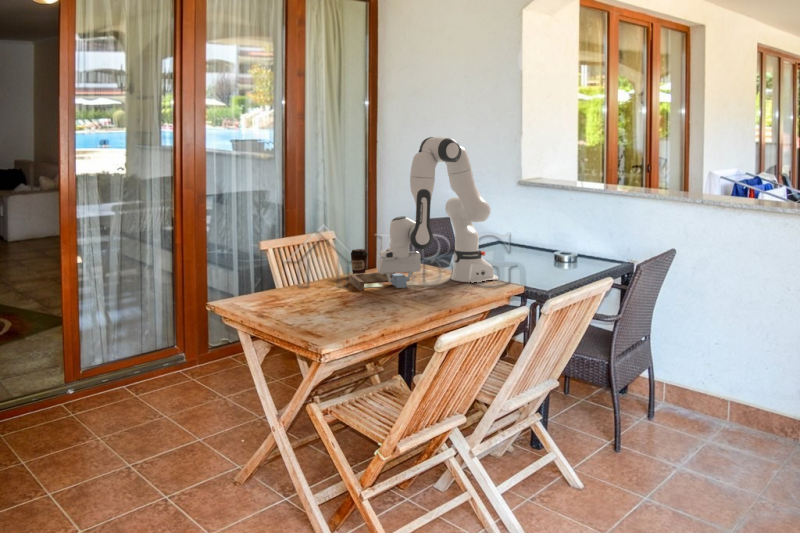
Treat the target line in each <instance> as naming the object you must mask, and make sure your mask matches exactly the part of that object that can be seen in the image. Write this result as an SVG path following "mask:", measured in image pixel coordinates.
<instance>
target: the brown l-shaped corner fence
mask: <svg viewBox="0 0 800 533" xmlns="http://www.w3.org/2000/svg"><path fill="white" fill-rule="evenodd" d="M392 274H396V273H391V275H390V278H392ZM348 277H349V282H348V283H349V284H350V285H351V284H352V285H351V286H352V287H354V288H355V289H357V290H359V291H360V292H361V291H365V289H368V288H369V289H370V288H383V287H384V285H382V284H381V283H379V282H387V281H388V282H389V279H388V277H387V275H386V274H380V273H379V272H378V271H377V272H375V271H374V272H365V273H360V274H353V273H352V274H349V276H348ZM374 282H375V283H374Z"/></svg>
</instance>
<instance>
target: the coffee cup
mask: <svg viewBox="0 0 800 533" xmlns="http://www.w3.org/2000/svg"><path fill="white" fill-rule="evenodd" d="M368 256H369V252H368V251H367V248H366V249H364V248H356V249H352V250H351V252H350V261H351V271H352V274H360V273H366V270H367V266H368V265H367V264H368Z"/></svg>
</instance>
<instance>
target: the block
mask: <svg viewBox="0 0 800 533" xmlns="http://www.w3.org/2000/svg"><path fill="white" fill-rule="evenodd" d="M407 277H408V276H406V275H404V274H403V273H395V274H392V279H393V283H391V285H392V286H394V287H395V288H397V289H400V288H401V289H402V288H404V289H405V288H408V287H407V285H408V284H407Z"/></svg>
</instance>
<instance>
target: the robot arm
mask: <svg viewBox="0 0 800 533" xmlns="http://www.w3.org/2000/svg"><path fill="white" fill-rule="evenodd" d="M440 162H441V163H442V162H443V163H445V165H446V170H447V174H448V175H447V176H448V179H449V180H448V181H449V184H450V188H451V190H452V191H453V193H455V194H456V196H455V197H454V196H453V197H451V198H449V199H448V200H447V201H446V203H445V205H444V206H445V207H444V208H445V209H444V210H445V213H446V215H447V216H448V217H449V218H450V221H451V224H452V226H453V231H454V246H455V247H454V250H453V260H454V262H453V270H452V274H451V277H450V279H451V280H452V281H456V282H462V283H470V282H471V284H472V283H473V284H475V283H474V282H477V283H483V282H482V281H485V282H487V281H486V280H493V281H498V280H499V276H498V275H497V274H494V273H495V272H494V268H493V265H492V264H490V263H489V262H488V261H487V260H485V259H484V258H483V257H485V256H486V251H484V250H482V251H481V250H479V246H480V245H479V242H480V239H479V238H480V235H479V233H478V231H477V230H476V227H474V223H482V222H485V221H487V220H488V219H489V217H490V215H491V206H490V204H489V203H488V202H487V201H486V200H485V199H484V198H483V196H482V195H481V193H480V192H479V189H478V187H477V185H476V183H475V178H474V174H473V170H472V165H471V161H470V158H469V155H468V152H467V150H466V149H465V147H464V146H460V144H459V143H458V142H457V141H456V140H455V139H454V138H451V137H444V136H438V137H437V136H435V137H434V136H430V137H427V138H425V139H423V140H422V141H421V143H420V145H419V150H418V152H417V153H416V154H414V156H413V158H412V162H411V167H410V175H409V186H410V192H411V194H412V197H413V199H414V202H415V221H414V220H413V219H410V218H409V217H408V216H405V215H404V216H396V217H394V218H392V219H391V221H390V225H389V240H390V242H389V247H388V248H386V249H383V250H380V252H379V257H378V260H377V268H376V270H377V272H379V273H380V274H386V275H387V277H388V279H389V281H388V284H392V283H393V279H392V278H390V275H391V273H395V274H403V273H407V276H406V277H407V282H411V277H412V275H413V272H414V273H415V272H420V271H421V269H422V265H421V263H422V262H421V259H422V257H421V256H422V255H421V253H420V252H419V251H416V250H415V251H410V244H411V245H412V246H413V247H414V248H415V249H417V250H426V249H428V248H430V246H431V245H432V243H433V241H434V234H433V231H432V229H431V225H430V224H431V218H430V217H431V204H432V203H431V202H432V199H433V192H434V187H435V180H436V179H435V178H436V167H437V165H438V164H439V163H440ZM482 256H483V257H482Z"/></svg>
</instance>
